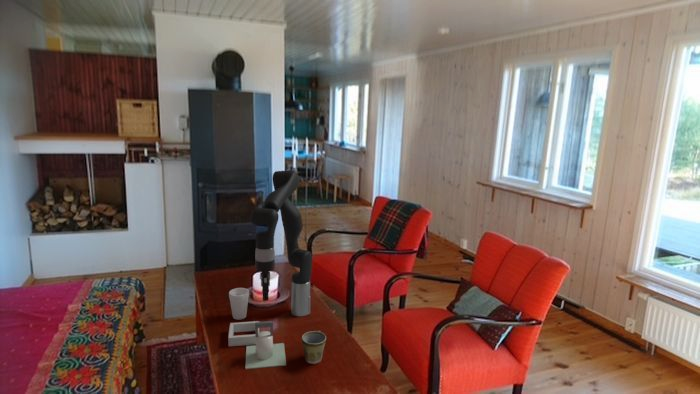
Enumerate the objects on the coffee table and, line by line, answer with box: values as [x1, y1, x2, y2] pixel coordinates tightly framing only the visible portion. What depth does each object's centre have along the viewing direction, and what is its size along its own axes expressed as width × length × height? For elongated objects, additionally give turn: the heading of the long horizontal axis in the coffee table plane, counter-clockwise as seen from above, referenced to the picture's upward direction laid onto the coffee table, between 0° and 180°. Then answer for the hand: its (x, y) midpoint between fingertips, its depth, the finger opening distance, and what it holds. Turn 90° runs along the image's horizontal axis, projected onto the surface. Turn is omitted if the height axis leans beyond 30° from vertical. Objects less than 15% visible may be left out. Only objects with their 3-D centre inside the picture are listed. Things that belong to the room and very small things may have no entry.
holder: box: [227, 320, 260, 347], centre depth 187 cm, size 13×13×4 cm
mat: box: [244, 342, 287, 370], centre depth 174 cm, size 16×16×1 cm
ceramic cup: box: [301, 329, 327, 365], centre depth 174 cm, size 13×10×10 cm
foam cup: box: [228, 287, 250, 321], centre depth 205 cm, size 10×9×13 cm
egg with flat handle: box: [254, 320, 274, 360], centre depth 173 cm, size 7×7×15 cm
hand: (265, 295), depth 169 cm, fingers open, 8 cm apart
